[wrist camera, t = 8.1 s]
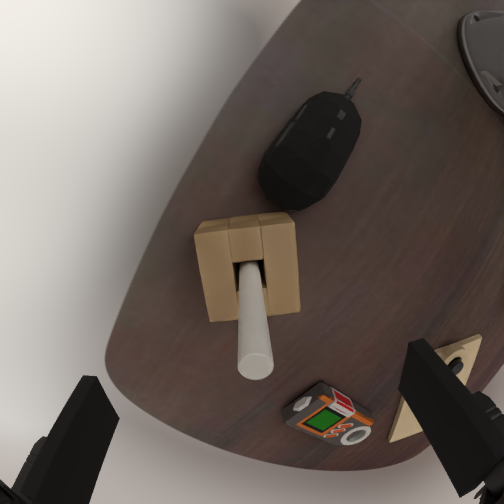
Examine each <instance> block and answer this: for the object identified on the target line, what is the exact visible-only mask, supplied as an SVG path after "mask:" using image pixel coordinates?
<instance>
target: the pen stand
mask: <svg viewBox="0 0 504 504" xmlns="http://www.w3.org/2000/svg"><path fill="white" fill-rule="evenodd" d="M194 241H195V247H196V252H197V258H198V264H199V269H200V275H201V280H202V285H203V290H204V295H205V301H206V306H207V311H208V315H209V320H210V322H218V321H228V320H238V319H239V272H240V269H238V270H237V263H236V262H243V261H251V260H260V259H262V265H263V267H259V271H260V277H261V284H262V290H263V297H264V303H265V310H266V316H269V315H270V316H273V315H281V314H288V313H295V312H300V292H299V275H298V259H297V245H296V232H295V222H294V221H293V220H292V219H291V218H290V216H289V215H288V214H287V213H286V212H285V211H283V212H273V213H264V214H255V215H247V216H239V217H231V218H223V219H215V220H207V221H202V222H201V224H200V225H199V227H198V228H197V230H196V231H195V233H194Z"/></svg>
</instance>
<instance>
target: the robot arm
mask: <svg viewBox="0 0 504 504" xmlns="http://www.w3.org/2000/svg"><path fill="white" fill-rule="evenodd" d="M457 32H458V42H459V47H460V51H461V55H462V58H463V60H464V63H465V65H466V68H467V70H468V72H469V74H470V76H471V78H472V80H473V82H474V84H475V86H476V87H477V89H478V90H479V92H480V93H481V95H482V96H483V98H484V99H485V100H486V101H487V103H488V104H489V105H490V106H491V107H492V108H493V109H494V110H495V111H497V112H498V113H499V114H501V115H502V116H504V11H483V10H480V11H473V12H471V13H468V14H466V15H465V16H463V17H462V18H461V19H460V21H459V24H458V31H457ZM398 390H399V391H400V393H401V394H402V396H403V398H404V399H405V401H406V403H407V404H408V406H409V408H410V409H411V411H412V413H413V414H414V416H415V418H416V419H417V421H418V423H419V425H420V426H421V428H422V430H423V431H424V433H425V435H426V437H427V438H428V440H429V442H430V444H431V445H432V447H433V449H434V451H435V452H436V454H437V456H438V458H439V460H440V461H441V463H442V465H443V467H444V469H445V471H446V472H447V474H448V476H449V478H450V480H451V482H452V484H453V486H454V488H455V489H456V491H457V493H458V495H459V497H462V496H464V495H465V494H467V493H469V492H470V491H472V490H474V489H475V488H476V487H477V486H478V485H479V484H480V483H481V482H482V481H484V483H485V485H484V487H482V488H481V489H480V490H479V491H478V492H477V493H476V495H475V497H474V499H476V498H477V497H479V496H480V495H481V494H482V495H481V497H480V502H479V504H504V414H502V412H501V411H500V409H499V408H497V407H496V405H495V403H494V402H493V401H492V400H491V399H490V397H488V396H486V395H485V394H483V393H481V392H480V391H478V392H476V393H474V394H471V393H470V391H469V390H468V389H467V388H466V387H465V385H464V384H463V383H462V382H461V381H460V379H459V378H458V377H457V376H456V375H455V374H454V372H453V371H452V370H451V369H450V368H449V367H448V365H447V364H446V363H445V362H444V361H443V360H442V359H441V357H440V356H439V355H438V354H437V353H436V352H435V351H434V349H433V348H432V347H431V346H430V345H429V344H428V343H427V342H426V341H425V339H424V338H423V339H419V340H416V341H412V342H409V344H408V349H407V354H406V358H405V363H404V367H403V372H402V376H401V380H400V384H399V388H398ZM118 421H119V417H118V415H117V413H116V412H115V410H114V408H113V406H112V404H111V403H110V401H109V399H108V397H107V395H106V393H105V391H104V389H103V388H102V386H101V384H100V382H99V380H98V378H97V376H83V377H82V378H81V380H80V381H79V383H78V384H77V386H76V388H75V389H74V391H73V393H72V394H71V396H70V398H69V399H68V401H67V403H66V405H65V406H64V408H63V410H62V411H61V413H60V415H59V417H58V418H57V420H56V422H55V424H54V425H53V427H52V429H51V431H50V433H49V434H48V436H47V437H44V436H43V437H42V438H40V439H39V440H38V441H37V442H36V443H35V444H34V446H33V448H32V450H31V452H30V455H28V457H27V459H26V462H25V463H24V465H23V467H22V469H21V471H20V473H19V475H18V477H17V479H16V481H15V483H14V485H13V487H12V488H11V489H10V488H9V487H8V486H7V485H6V484H5V483H4V482H3V481H1V480H0V504H89V502H90V499H91V496H92V493H93V490H94V487H95V484H96V481H97V478H98V475H99V472H100V470H101V467H102V464H103V461H104V458H105V456H106V453H107V450H108V447H109V445H110V442H111V439H112V437H113V434H114V431H115V429H116V426H117V424H118Z"/></svg>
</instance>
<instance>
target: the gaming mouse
mask: <svg viewBox="0 0 504 504" xmlns="http://www.w3.org/2000/svg"><path fill="white" fill-rule="evenodd" d="M360 82H361V78H358V79H357V80H356V82H355V83H354V85H353V86H352V88H351V89H349V90H348V91H347V93H346V95H345V96H344V95H342V94H337V93H331V92H325V91H323V92H321V93H319V94H317V95H315V96H313V97H311V98H309V99H308V100H307V101H306V102H305V103H304V104H303V105H302V107H301V108H300V109H299V110H298V111H297V112H296V114H295V115H294V116H293V117H292V119H291V120H290V121H289V123H288V124H287V125H286V127H285V128H284V129H283V130H282V131H281V133H280V134H279V135H278V136H277V137H276V139H275V140H274V141H273V143H272V144H271V145H270V147H269V148H268V150H267V151H266V152H265V154H264V156H263V159H262V162H261V165H260V168H259V174H258V179H259V184H260V186H261V188H262V190H263V192H264V194H265V196H266V199H268V200H269V201H271V202H272V203H274V204H275V205H277V206H278V207H280V208H281V209H283V210H298V211H299V210H303V209H305V208H307V207H309V206H310V205H312V204H314V203H316V202H318V201H319V200H321V199H323V198H324V197H325V196H326V195H327V193H328V192H329V190H330V189H331V188H332V186H333V185H334V183H335V182H336V180H337V179H338V177H339V175H340V173H341V171H342V170H343V168H344V166H345V164H346V162H347V160H348V158H349V156H350V154H351V152H352V150H353V148H354V146H355V144H356V141H357V139H358V136H359V134H360V127H361V118H360V116H359V114H358V111H357V109H356V107H355V105H354V103H353V102H351V101H350V98H352V96H353V95H354V93H355V92H354V91H355V89H356V88H357V86H358V85H359V83H360Z"/></svg>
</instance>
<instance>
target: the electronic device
mask: <svg viewBox="0 0 504 504" xmlns="http://www.w3.org/2000/svg"><path fill="white" fill-rule="evenodd" d="M281 412H282V417H283V422H284V423H285V424H287V425H289V426H291V427H294V428H296V429H298V430H300V431H302V432H305V433H307V434H309V435H312V436H314V437H316V438H319V439H321V440H324V441H326V442H329V443H331V444H334V445H336V446H340V445H342V444H344V445H352V444H356V443H358V442H360V441H362V440H364V439H365V438H366V437H368V435H369V434H370V433H371V429H370V426H371V425H372V424H373V423H374V419H373V417H372V415H371V413H370V412H369V411H368V410H366V409H364V408H363V407H361V406H359V405H358V404H356V403H354V402H353V401H351V399H350V398H348V397H347V396H345V395H344V394H342V393H340V392H339V391H337V390H336V389H334V388H332V387H329V386H327V385H326V384H324V383H322V382H320V383H318V384H317V385H316V386H314V387H313V388H312V389H310V390H309V391H308V392H306V393H305V394H304V395H302V396H301V397H299V398H298V399H297V400H295V401H294V402H292V403H291V404H290V405H288V406H287V407H285V408H284V409H282V410H281Z"/></svg>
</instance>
